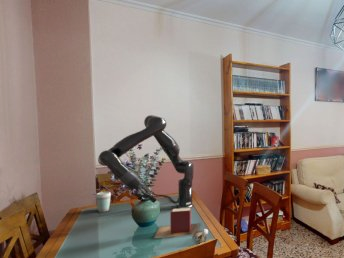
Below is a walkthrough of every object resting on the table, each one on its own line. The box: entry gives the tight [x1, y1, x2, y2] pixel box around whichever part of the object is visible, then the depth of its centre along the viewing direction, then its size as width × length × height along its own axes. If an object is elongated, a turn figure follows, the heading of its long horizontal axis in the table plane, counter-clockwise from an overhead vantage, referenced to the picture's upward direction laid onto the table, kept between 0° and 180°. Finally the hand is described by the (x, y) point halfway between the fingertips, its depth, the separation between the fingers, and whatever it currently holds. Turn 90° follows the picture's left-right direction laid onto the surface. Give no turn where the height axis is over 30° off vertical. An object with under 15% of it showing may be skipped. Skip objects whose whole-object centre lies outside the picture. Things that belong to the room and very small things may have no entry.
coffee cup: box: [95, 191, 112, 213], centre depth 172 cm, size 8×8×12 cm
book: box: [169, 207, 192, 233], centre depth 143 cm, size 10×5×12 cm, turn 105°
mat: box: [153, 223, 200, 239], centre depth 144 cm, size 22×14×1 cm, turn 106°
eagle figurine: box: [191, 228, 209, 246], centre depth 132 cm, size 8×7×9 cm
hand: (155, 201), depth 140 cm, fingers closed
